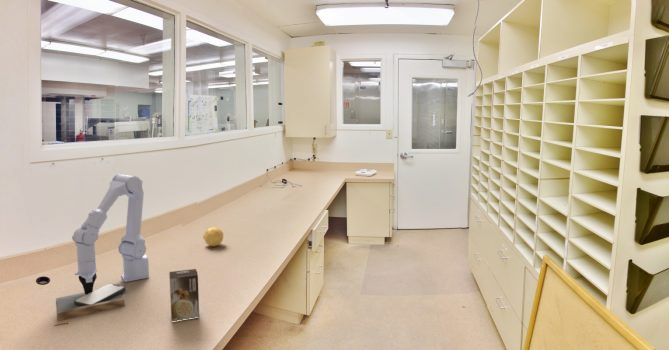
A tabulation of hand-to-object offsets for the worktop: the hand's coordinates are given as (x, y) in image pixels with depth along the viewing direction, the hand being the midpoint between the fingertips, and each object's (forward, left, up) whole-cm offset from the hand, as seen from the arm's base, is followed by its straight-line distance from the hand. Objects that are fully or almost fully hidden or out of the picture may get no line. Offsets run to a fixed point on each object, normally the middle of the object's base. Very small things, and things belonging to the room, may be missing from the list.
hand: (88, 293), depth 151 cm
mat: (0, +5, -1) cm, 5 cm away
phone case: (-4, +4, -1) cm, 6 cm away
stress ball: (-59, -32, -1) cm, 67 cm away
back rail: (0, +14, -1) cm, 14 cm away
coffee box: (-26, +34, -1) cm, 43 cm away
